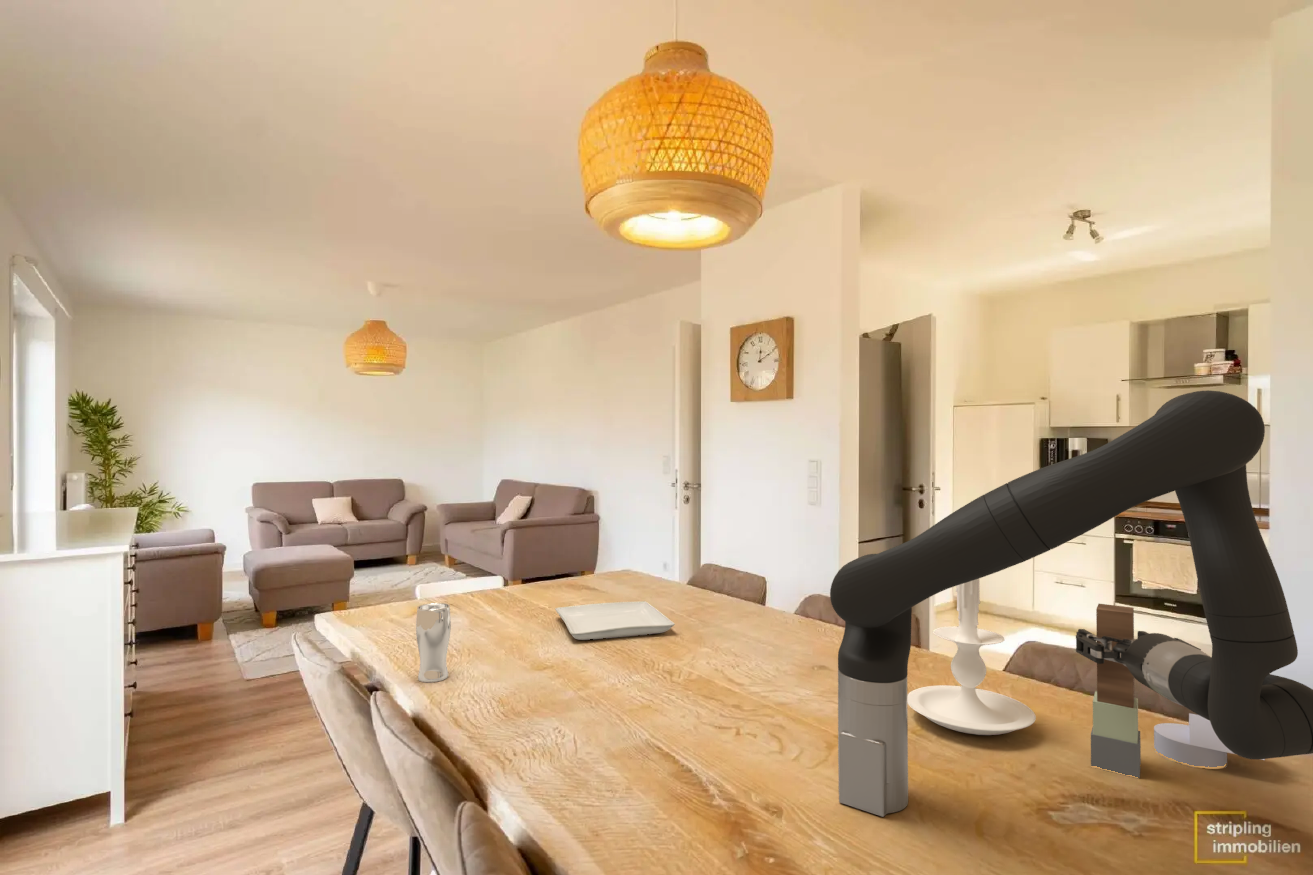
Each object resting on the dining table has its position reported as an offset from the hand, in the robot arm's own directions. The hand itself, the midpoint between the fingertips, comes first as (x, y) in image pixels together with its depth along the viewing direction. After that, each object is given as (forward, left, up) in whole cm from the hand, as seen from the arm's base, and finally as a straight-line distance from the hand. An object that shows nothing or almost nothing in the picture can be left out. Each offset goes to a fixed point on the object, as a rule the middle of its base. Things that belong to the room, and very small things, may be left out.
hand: (1109, 636), depth 105 cm
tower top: (-1, -1, -14) cm, 14 cm away
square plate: (+12, +113, -20) cm, 116 cm away
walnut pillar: (-1, -1, -9) cm, 9 cm away
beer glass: (-42, +116, -19) cm, 125 cm away
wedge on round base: (+10, -12, -19) cm, 25 cm away
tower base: (-1, -1, -19) cm, 19 cm away
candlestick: (+4, +21, -19) cm, 29 cm away
